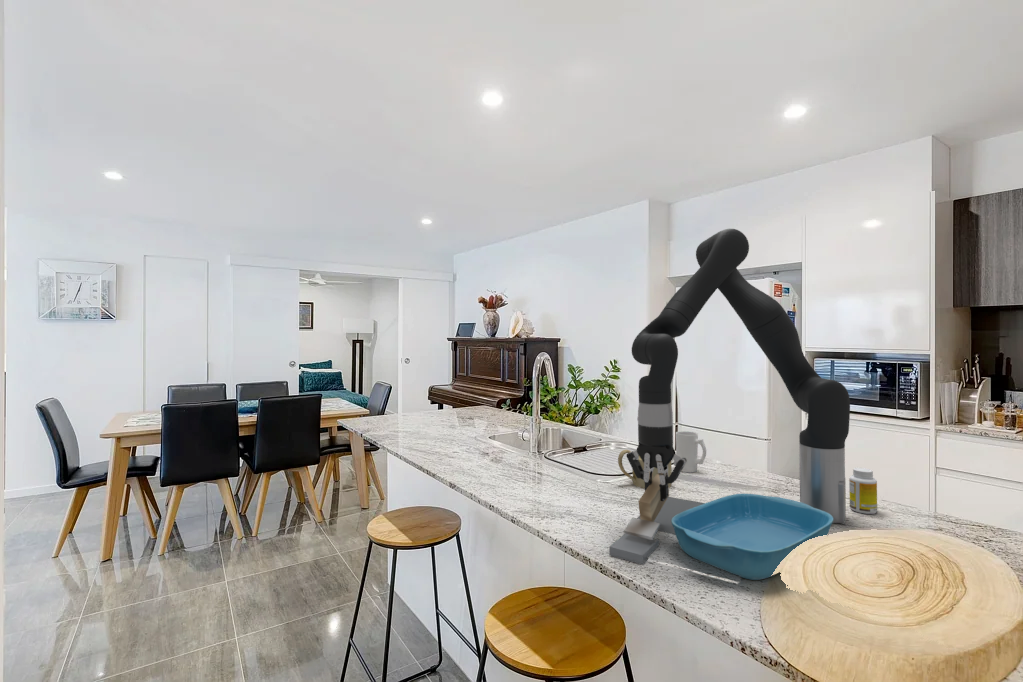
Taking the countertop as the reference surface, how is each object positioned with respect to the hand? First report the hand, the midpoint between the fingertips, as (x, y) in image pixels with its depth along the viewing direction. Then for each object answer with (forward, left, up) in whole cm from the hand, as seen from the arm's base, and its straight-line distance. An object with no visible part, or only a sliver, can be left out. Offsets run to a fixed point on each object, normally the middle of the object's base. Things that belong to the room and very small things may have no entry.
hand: (656, 498), depth 111 cm
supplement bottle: (-38, -40, -8) cm, 56 cm away
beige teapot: (+13, -30, -8) cm, 34 cm away
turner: (0, +3, -2) cm, 4 cm away
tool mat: (0, -11, -7) cm, 14 cm away
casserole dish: (-19, -2, -8) cm, 21 cm away
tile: (0, +8, -7) cm, 10 cm away
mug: (+7, -53, -8) cm, 54 cm away
